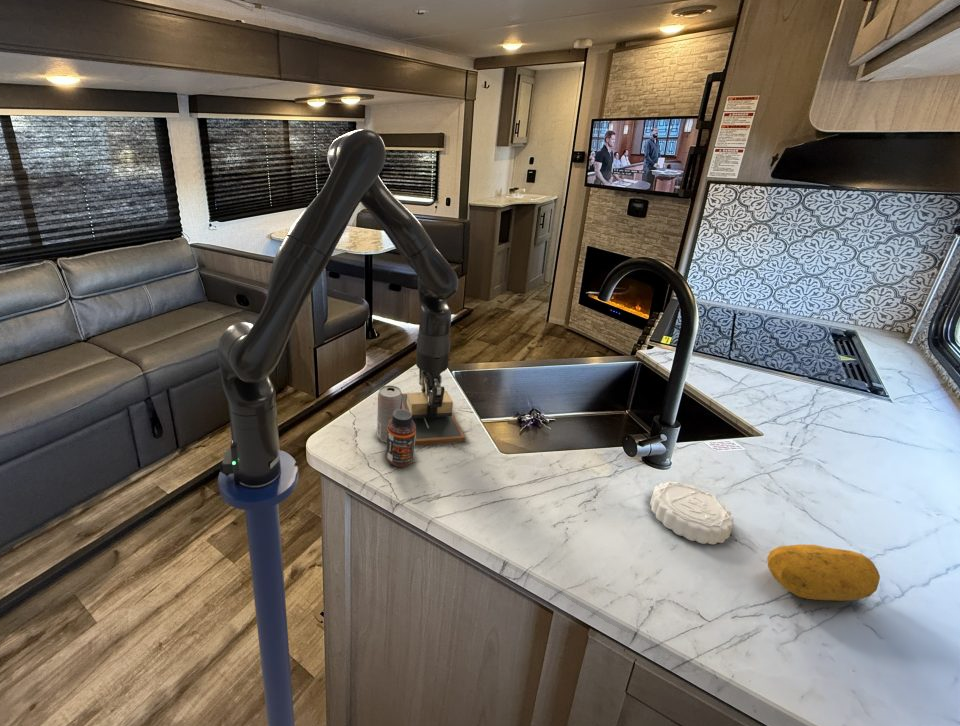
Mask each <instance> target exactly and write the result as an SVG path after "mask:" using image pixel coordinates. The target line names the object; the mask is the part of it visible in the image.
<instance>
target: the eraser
mask: <svg viewBox="0 0 960 726" xmlns="http://www.w3.org/2000/svg"><path fill="white" fill-rule="evenodd" d="M406 394H407V409H408V411H409V412H411V414H412V419H414V418H428V417H427V409H428V396H427V395H426V394H425V392H422V391H421V392H407V393H406ZM453 406H454V401H453V399H452V398H451V396H450V394H449V392H448V391H447V390H444V396H443V401H442V407H438V408H437V417H445V416H452V413H453Z"/></svg>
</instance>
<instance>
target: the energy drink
mask: <svg viewBox="0 0 960 726" xmlns="http://www.w3.org/2000/svg"><path fill="white" fill-rule="evenodd" d="M402 394H403V393H402V390H401V388H399V387H398V386H396V385H391V384H389V385H384V386H381V387H380V388H379V390H378V392H377V416H376V417H377V418H376V419H377V421H376V437H377V438H378V440H380V442H383V443H385V444H387V426H388V422H389V421H390V420H391V419H392V417H393V412H394V411H395V410H398V409H402Z"/></svg>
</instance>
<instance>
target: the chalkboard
mask: <svg viewBox="0 0 960 726" xmlns="http://www.w3.org/2000/svg"><path fill="white" fill-rule="evenodd" d="M402 409H405V410H408V409H407V393H402ZM412 420H413V422H414V423H415V425H416V433H415V447H416V446H427V445H428V446H429V445H441V444H443V445H444V444H456V443H466V442H467V437H466V435H465V433H464V431H463V430H462V428H461V426H460V424H459V422H458V420H457V419H456V417H455V415H454V413H453V412H452V416H445V417H436V418H433V419H429V418H414V419H412Z"/></svg>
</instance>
